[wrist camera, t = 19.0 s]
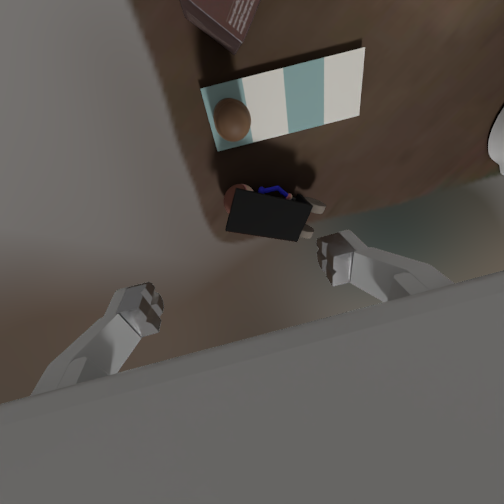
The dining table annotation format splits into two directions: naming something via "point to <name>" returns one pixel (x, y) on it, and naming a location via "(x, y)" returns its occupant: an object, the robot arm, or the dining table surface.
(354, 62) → the board
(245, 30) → the box
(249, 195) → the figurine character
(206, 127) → the dining table surface
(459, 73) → the dining table surface
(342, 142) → the dining table surface
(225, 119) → the brown rounded cylinder
